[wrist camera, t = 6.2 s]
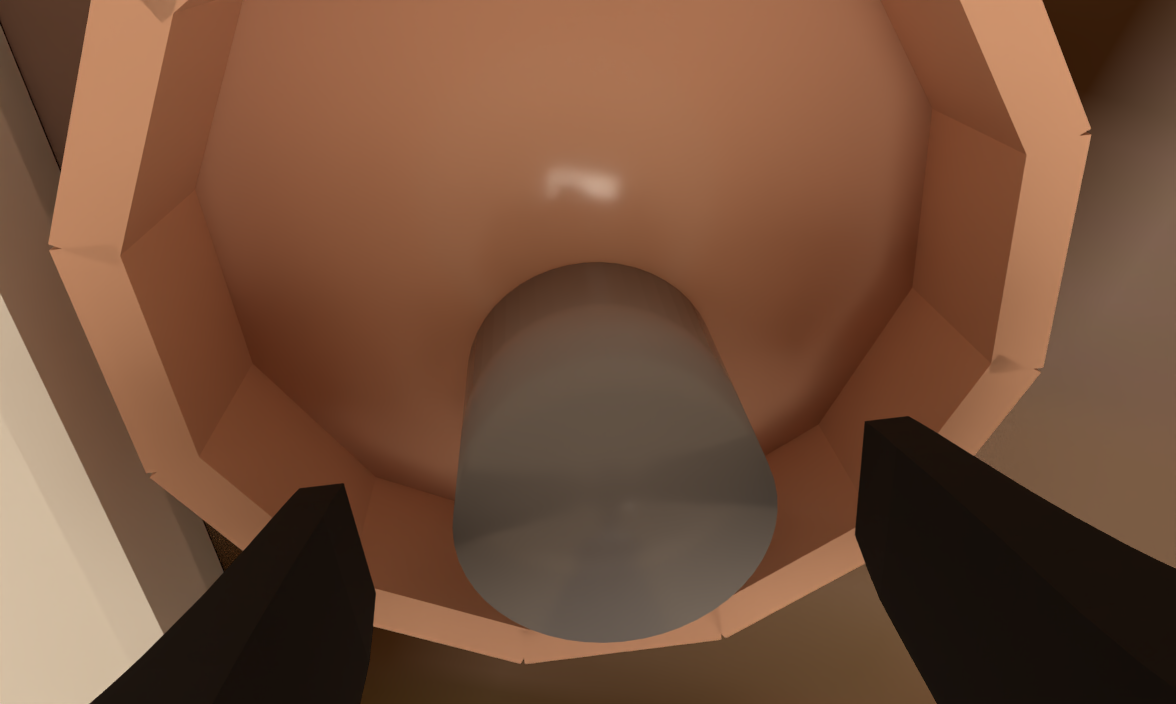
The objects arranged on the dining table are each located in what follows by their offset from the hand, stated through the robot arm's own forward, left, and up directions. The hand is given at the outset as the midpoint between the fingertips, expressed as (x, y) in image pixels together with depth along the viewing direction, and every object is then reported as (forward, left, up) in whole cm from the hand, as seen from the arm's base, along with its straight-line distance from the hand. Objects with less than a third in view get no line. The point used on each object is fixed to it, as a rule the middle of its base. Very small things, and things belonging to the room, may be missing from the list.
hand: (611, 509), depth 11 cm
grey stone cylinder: (0, 0, -4) cm, 4 cm away
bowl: (+3, 0, -4) cm, 5 cm away
